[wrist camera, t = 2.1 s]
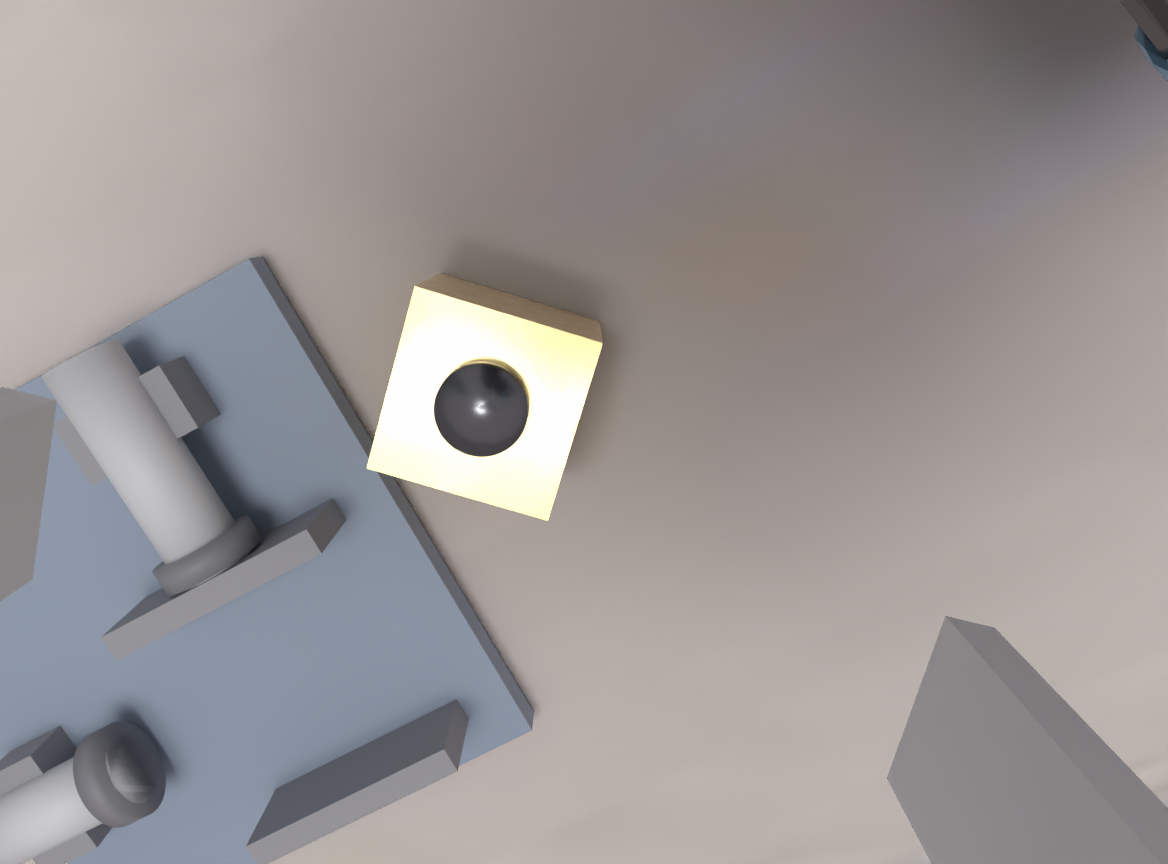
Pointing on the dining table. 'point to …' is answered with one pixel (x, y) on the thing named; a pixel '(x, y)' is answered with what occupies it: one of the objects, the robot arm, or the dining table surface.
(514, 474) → the block
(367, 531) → the shaft bench
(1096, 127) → the dining table surface
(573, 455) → the dining table surface
